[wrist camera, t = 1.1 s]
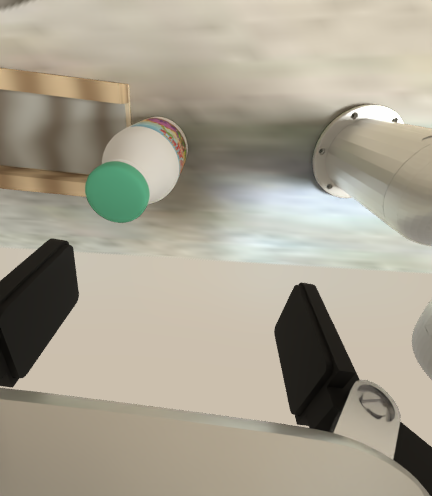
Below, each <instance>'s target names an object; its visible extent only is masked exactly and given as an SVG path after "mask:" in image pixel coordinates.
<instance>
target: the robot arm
mask: <svg viewBox="0 0 432 496" xmlns="http://www.w3.org/2000/svg"><path fill="white" fill-rule="evenodd" d="M352 113H353V116H352V117H351V115H352ZM391 120H392V121H391ZM320 149H322V150H321V152H319V150H320ZM312 165H313V173H314V176H315V178H316V181H317V183H318V184H319V185H320V186H321V187H322V188H323V189H324V190H325V191H326V192H328V193H329V194H331V195H333V196H336V197H339V198H354V199H355V200H356V201H357V202H359V203H360V204H361V205H363V206H364V207H365V208H367V209H368V210H369V211H370V212H372V213H373V214H374V215H376V216H377V217H378V218H380V219H381V220H382V221H383V222H385V223H386V224H387V225H389V226H390V227H391V228H392V229H394V230H395V231H397V232H398V233H399V234H401V235H402V236H404V237H405V238H407V239H409V240H411V241H413V242H416V243H419V244H423V245H427V246H432V129H431V128H425V127H420V126H414V125H409V124H404V122H403V120H402V118H401V117H400V116H399V115H398V114H397V113H396V112H395V111H394V110H392V109H390V108H389V107H385V106H382V105H374V104H370V105H361V106H358V107H355V108H352V109H350V110H348V111H346V112H344V113H342V114H341V115H340V116H338V117H337V118H335V119H334V120H333V121H332V122H331V123H330V124H329V125H328V126H327V128H326V129H325V130H324V132H323V133H322V134H321V136H320V138H319V140H318V142H317V144H316V147H315V150H314V154H313V160H312ZM328 184H329V185H328ZM327 185H328V186H327ZM78 297H79V292H78V284H77V276H76V269H75V260H74V251H73V247H72V246H71V245H69V243H68V242H67V241H64V240H58V239H49V240H48V241H47V242H46V243H44V244H43V245H42V246H41V247H40V248H39V249H37V250H36V251H35V252H34V253H33V254H31V255H30V256H29V257H28V258H27V259H26V260H24V261H23V262H22V263H21V264H20V265H19V266H17V267H16V268H15V269H14V270H13V271H11V272H10V273H9V274H8V275H7V276H6V277H4V278H3V279H2V280H1V281H0V386H6V387H13V386H14V385H15V384H16V382H17V381H18V379H19V378H23V377H24V376H26V374H27V373H28V372H29V370H30V369H31V368H32V366H33V364H34V363H35V362H36V360H37V359H38V357H39V356H40V355H41V353H42V352H43V350H44V349H45V347H46V346H47V344H48V343H49V341H50V340H51V339H52V337H53V336H54V334H55V333H56V332H57V330H58V329H59V327H60V326H61V324H62V323H63V322H64V320H65V319H66V317H67V316H68V314H69V313H70V311H71V310H72V309H73V307H74V306H75V304H76V303H77V301H78ZM274 332H275V339H276V344H277V349H278V353H279V358H280V363H281V368H282V373H283V378H284V383H285V387H286V392H287V397H288V402H289V407H290V411H291V413H292V414H295V418H296V422H297V424H298V425H306V426H309V428H305V427H299V426H292V425H286V424H278V423H272V422H266V421H258V420H251V419H243V418H236V417H229V416H221V415H214V414H206V413H199V412H190V411H184V410H176V409H167V408H160V407H153V406H145V405H137V404H129V403H121V402H114V401H106V400H97V399H89V398H82V397H74V396H66V395H58V394H49V393H41V392H33V391H23V390H14V389H5V388H0V496H432V447H431V446H429V445H428V444H427V443H426V442H425V441H423V440H422V439H421V438H420V437H419V436H417V435H416V434H415V433H414V432H412V431H411V430H410V429H409V428H408V427H406V426H405V425H403V423H401V422H400V412H399V409H398V407H397V405H396V403H395V402H394V400H393V399H392V398H391V396H390V395H389V394H388V393H387V392H386V391H385V390H383V389H382V388H381V387H380V386H378V385H376V384H375V383H373V382H370V381H367V380H359V378H358V375H357V373H356V371H355V369H354V367H353V365H352V363H351V360H350V358H349V356H348V354H347V352H346V350H345V348H344V346H343V344H342V341H341V339H340V337H339V335H338V333H337V331H336V329H335V326H334V324H333V322H332V320H331V318H330V316H329V314H328V312H327V310H326V307H325V305H324V303H323V301H322V299H321V297H320V295H319V293H318V290H317V288H316V286H315V285H313V284H307V283H300V284H299V285H295V286H294V289H293V290H292V292H291V294H290V296H289V299H288V301H287V303H286V305H285V307H284V309H283V311H282V313H281V315H280V318H279V320H278V322H277V324H276V326H275V331H274ZM412 347H413V351H414V354H415V357H416V359H417V361H418V363H419V364H420V366H421V367H422V369H423V370H424V372H425V373H426V374H427V375H428V376H429V378H430V379H431V380H432V299H431V300H430V302H429V303H428V305H427V306H426V308H425V310H424V312H423V313H422V315H421V317H420V318H419V320H418V322H417V324H416V326H415V328H414V331H413V335H412Z"/></svg>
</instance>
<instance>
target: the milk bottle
mask: <svg viewBox="0 0 432 496" xmlns="http://www.w3.org/2000/svg"><path fill="white" fill-rule="evenodd" d="M187 153H188V144H187V140H186V137H185V135H184V133H183V131H182V130H181V128H180V127H179V126H178V125H177V124H176V123H174V122H173V121H171V120H169V119H167V118H164V117H150V118H147V119H144V120H142V121H140V122H138V123H135V124H133V125H131V126H129V127H127V128H125V129H123V130H122V131H120V132H118V133H117V134H116V135H115V136H114V137H113V138H112V139H111V140H110V141H109V143H108V144H107V146H106V148H105V150H104V153H103V157H102V164H101V165H100V166H98V167H97V168H95V169H94V170H93V171H92V172H91V173H90V174H89V176H88V178H87V181H86V184H85V194H86V197H87V200H88V202H89V204H90V206H91V207H92V208H93V210H94V211H95V212H96V213H98V214H99V215H100V216H102V217H103V218H105V219H107V220H110V221H113V222H118V223H125V222H129V221H132V220H134V219H136V218H138V217H139V216H140V215H141V214H142V213H143V211H144V210H145V209H146V207H147V205H148V204H152V203H155V202H157V201H159V200H161V199H163V198H164V197H165V196H167V195H168V194H169V193H170V192H171V190H172V189H173V188H174V186H175V184H176V182H177V180H178V178H179V176H180V174H181V171H182V169H183V166H184V164H185V161H186V158H187Z"/></svg>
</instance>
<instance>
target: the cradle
mask: <svg viewBox="0 0 432 496" xmlns="http://www.w3.org/2000/svg"><path fill="white" fill-rule="evenodd" d="M129 126H131V110H130V93H129V84H122V83H115V82H107V81H99V80H91V79H84V78H76V77H68V76H60V75H53V74H45V73H37V72H29V71H22V70H14V69H6V68H0V188H2V189H12V190H23V191H33V192H43V193H53V194H63V195H73V196H83V197H86V194H85V184H86V181H87V178H88V176H89V174H90V173H91V172H92V171H93V170H94V169H95V168H97V167H98V166H100V165H101V164H102V157H103V153H104V150H105V148H106V146H107V144H108V143H109V141H110V140H111V139H112V138H113V137H114V136H115V135H116V134H117V133H118V132H120V131H122V130H123V129H125V128H127V127H129Z"/></svg>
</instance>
